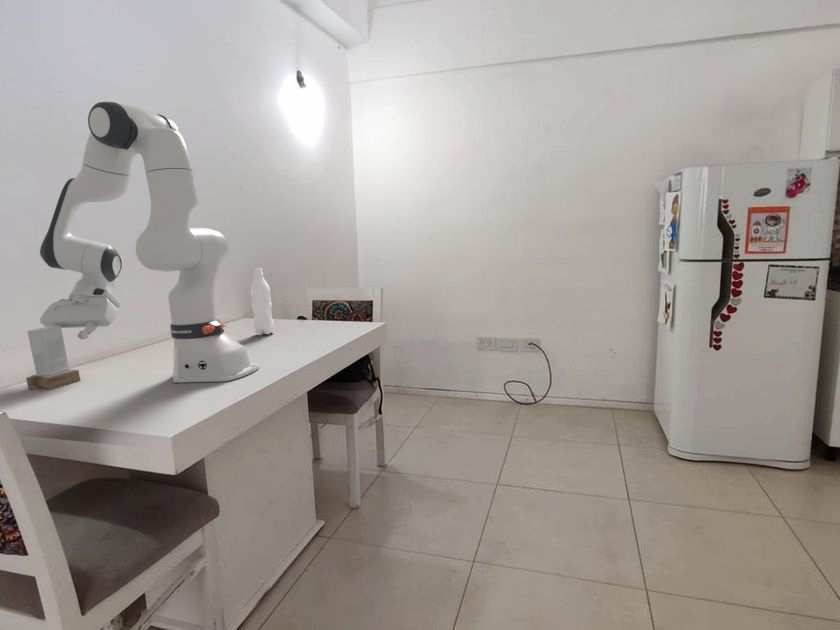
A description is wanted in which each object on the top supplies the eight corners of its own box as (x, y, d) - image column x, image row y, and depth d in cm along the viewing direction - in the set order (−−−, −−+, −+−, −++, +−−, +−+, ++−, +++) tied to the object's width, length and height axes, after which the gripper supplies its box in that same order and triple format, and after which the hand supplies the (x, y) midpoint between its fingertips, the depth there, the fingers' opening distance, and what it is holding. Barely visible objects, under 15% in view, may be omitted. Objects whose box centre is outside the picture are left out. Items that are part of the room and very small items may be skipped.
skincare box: (55, 369, 131) (47, 326, 129) (69, 369, 131) (61, 325, 129) (35, 376, 125) (26, 330, 123) (49, 375, 125) (41, 330, 123)
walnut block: (80, 380, 131) (78, 369, 130) (50, 390, 123) (48, 377, 123) (59, 379, 133) (56, 368, 133) (28, 388, 126) (25, 376, 125)
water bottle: (268, 336, 179) (261, 268, 175) (251, 336, 181) (243, 269, 177) (278, 332, 186) (271, 267, 182) (261, 332, 188) (254, 267, 184)
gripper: (48, 293, 139) (23, 333, 131) (113, 290, 137) (91, 331, 129) (64, 306, 144) (40, 345, 136) (126, 303, 142) (107, 343, 134)
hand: (66, 338), depth 132 cm, fingers open, 8 cm apart
